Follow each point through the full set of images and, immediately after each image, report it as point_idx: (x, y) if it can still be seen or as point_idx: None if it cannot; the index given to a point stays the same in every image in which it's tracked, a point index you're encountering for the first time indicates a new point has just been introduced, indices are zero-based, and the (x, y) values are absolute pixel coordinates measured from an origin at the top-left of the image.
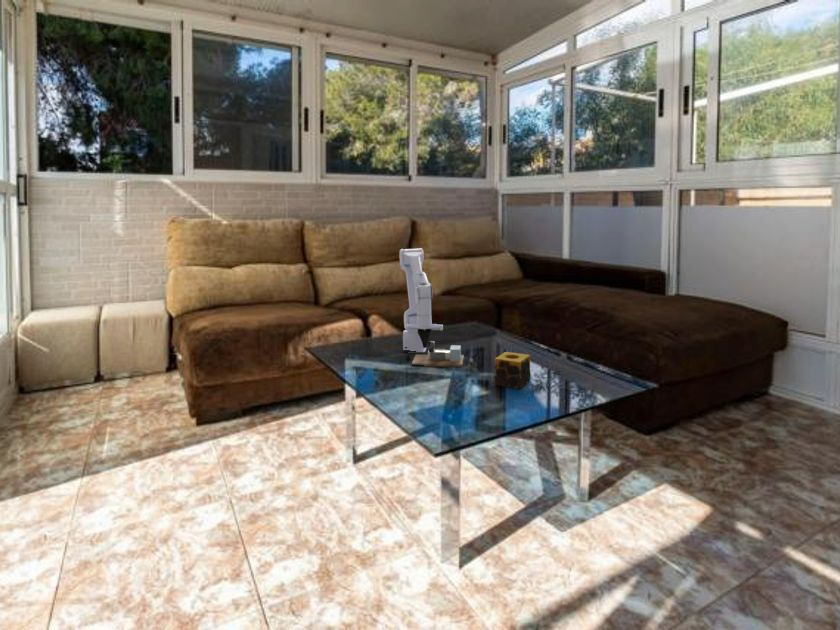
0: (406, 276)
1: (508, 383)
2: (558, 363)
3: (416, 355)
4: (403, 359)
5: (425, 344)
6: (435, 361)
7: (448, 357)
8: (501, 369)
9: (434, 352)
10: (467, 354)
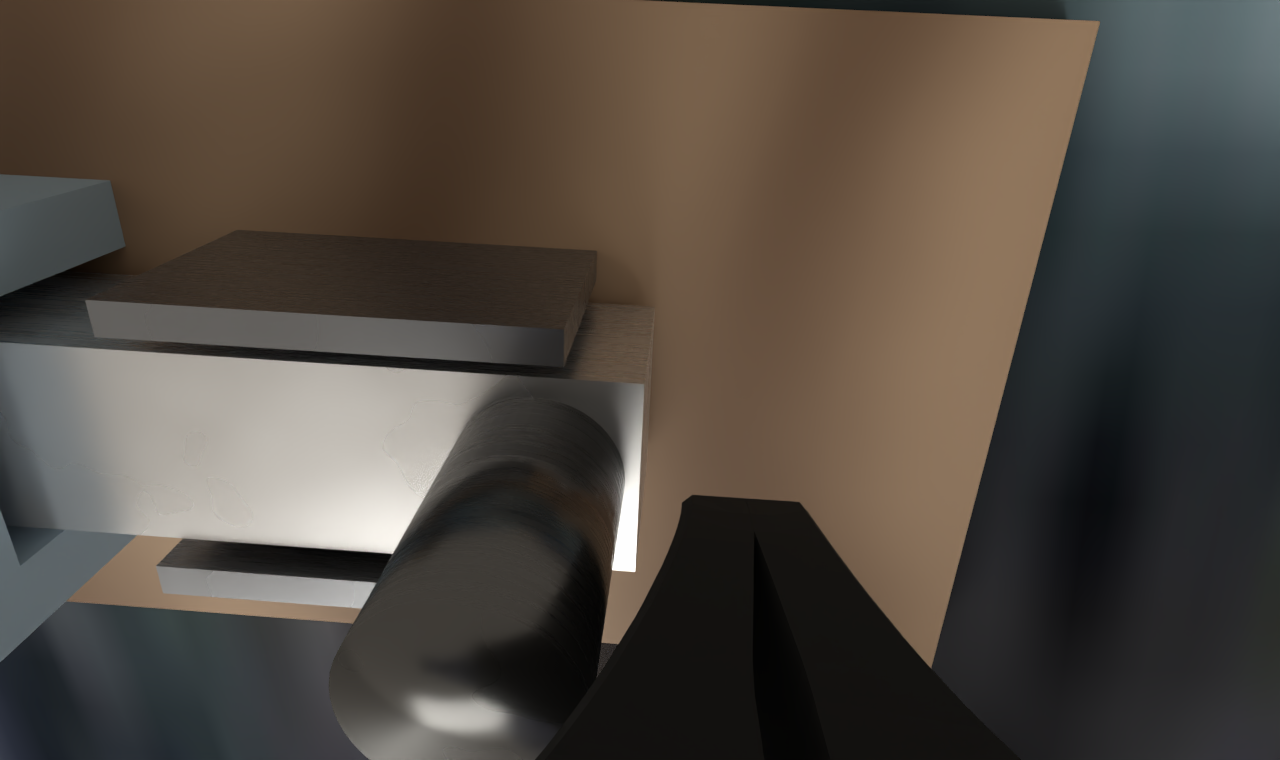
0: None
1: None
2: None
3: (922, 615)
4: (1199, 502)
5: (721, 551)
6: (462, 191)
7: None
8: None
9: (423, 318)
10: (22, 701)
